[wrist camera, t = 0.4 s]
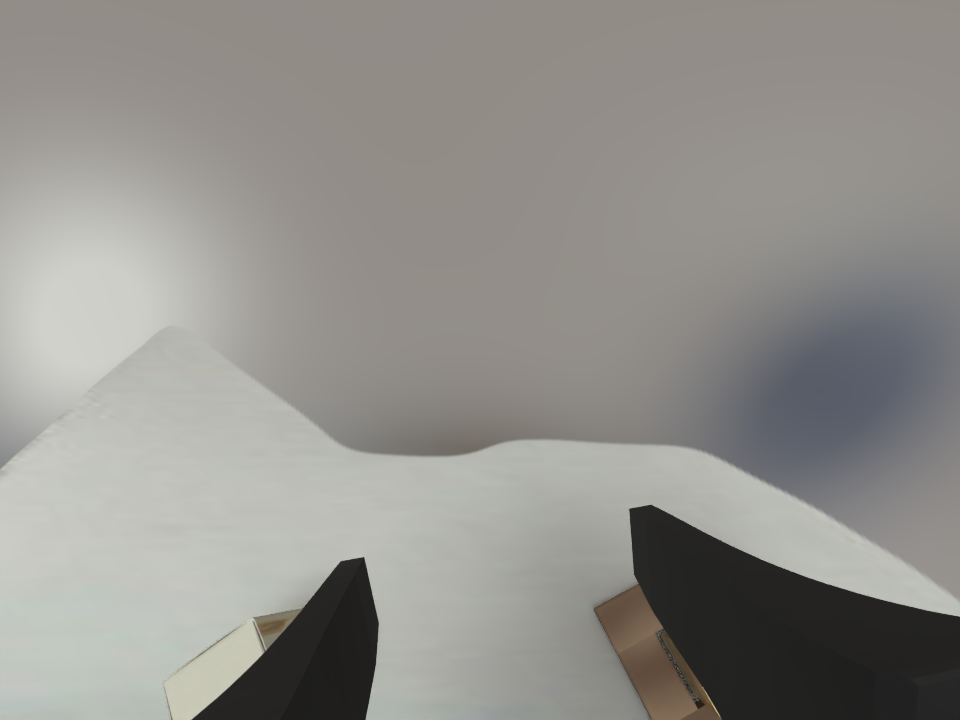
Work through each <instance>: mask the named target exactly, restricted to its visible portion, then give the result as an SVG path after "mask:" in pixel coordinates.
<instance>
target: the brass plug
mask: <svg viewBox="0 0 960 720" xmlns="http://www.w3.org/2000/svg"><path fill="white" fill-rule="evenodd" d="M660 636H661V638H662V640H663V641H664V643H665V645H666V647H667V648H668V650H669V652H670V654H671V655H672V657H673V659H674V661H675V662H676V664H677V666H678V668H679V669H680V671H681V673H682V675H683V676H684V678H685V680H686V682H687V683H688V685H689V687H690V689H691V690H692V692H693V694H694V695H695V696H696V697H697V698H698V699H699V700H700V701H702V702H703V703H704V704H705V705H706V706H707V707H708V708H709V709H711V710H712V711H713V712H714V713H715V714H716V715H717V716H718V717H720V715H719V713H718V712H717V710H716V708H715V707H714V705H713V703H712V702H711V700H710V698H709V697H708V695H707V693H706V692H705V690H704V689H703V687H702V686H701V684H700V683H699V681H698V680H697V678H696V677H695V675H694V674H693V672H692V671H691V669H690V668H689V666H688V665H687V663H686V661H685V660H684V658H683V657H682V655H681V654H680V652H679V651H678V649H677V648H676V646H675V645H674V643H673V642H672V640H671V639H670V637H669V636H668V634H667V633H666V631H664V632H662V633H660ZM720 718H721V717H720Z"/></svg>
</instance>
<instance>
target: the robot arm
mask: <svg viewBox="0 0 960 720" xmlns="http://www.w3.org/2000/svg"><path fill="white" fill-rule="evenodd" d="M629 511H630V524H631V538H632V551H633V565H634V575H635V577H636V579H637V581H638V583H639V585H640V587H641V589H642V591H643V594H644V596H645V597H646V599H647V601H648V603H649V605H650V607H651V609H652V611H653V612H654V614H655V616H656V617H657V619H658V620H659V622H660V623H661V625H662V626H663V628H664V630H665V631H666V633H667V634H668V636H669V637H670V639H671V640H672V642H673V643H674V645H675V646H676V648H677V649H678V651H679V652H680V654H681V655H682V657H683V658H684V660H685V661H686V663H687V665H688V666H689V668H690V669H691V671H692V672H693V674H694V675H695V677H696V678H697V680H698V681H699V683H700V684H701V686H702V687H703V689H704V690H705V692H706V693H707V695H708V697H709V698H710V700H711V702H712V703H713V705H714V707H715V708H716V710H717V712H718V713H719V715H720V717H721V719H722V720H960V617H958V616H953V615H947V614H942V613H936V612H931V611H926V610H922V609H918V608H913V607H909V606H905V605H901V604H896V603H892V602H888V601H884V600H880V599H876V598H873V597H869V596H865V595H861V594H858V593H855V592H851V591H848V590H845V589H841V588H838V587H835V586H832V585H828V584H825V583H822V582H819V581H816V580H813V579H810V578H807V577H805V576H802V575H799V574H797V573H794V572H791V571H789V570H786V569H783V568H781V567H778V566H775V565H773V564H771V563H768V562H766V561H763V560H761V559H759V558H757V557H754V556H752V555H750V554H748V553H745V552H743V551H741V550H739V549H737V548H734V547H732V546H730V545H728V544H726V543H724V542H722V541H720V540H718V539H716V538H714V537H712V536H710V535H708V534H706V533H704V532H702V531H701V530H699V529H697V528H695V527H693V526H691V525H689V524H687V523H685V522H684V521H682V520H680V519H678V518H676V517H674V516H672V515H670V514H669V513H667V512H665V511H663V510H661V509H659V508H657V507H655V506H652V505H648V506H642V507H637V508H631V509H629ZM378 626H379V622H378V618H377V613H376V609H375V604H374V600H373V595H372V591H371V586H370V582H369V577H368V573H367V568H366V563H365V559H364V557H362V558H357V559H351V560H346V561H341V562H340V563H339V564H338V565H337V567H336V568H335V569H334V570H333V572H332V573H331V574H330V575H329V577H328V578H327V579H326V580H325V582H324V583H323V584H322V585H321V587H320V588H319V589H318V591H317V592H316V593H315V594H314V596H313V597H312V598H311V599H310V601H309V602H308V603H307V604H306V605H305V607H304V608H303V609H302V610H301V612H300V613H299V614H298V615H297V616H296V618H295V619H294V620H293V621H292V622H291V623H290V624H289V625H288V627H287V628H286V629H285V630H284V631H283V632H282V633H281V634H280V636H279V637H278V638H277V639H276V640H275V641H274V642H273V643H272V644H271V646H270V647H269V648H268V649H267V650H266V651H265V652H264V653H263V654H262V655H261V656H260V657H259V658H258V659H257V660H256V661H255V662H254V663H253V664H252V665H251V667H250V668H249V669H247V670H246V671H245V672H244V673H243V674H242V675H241V676H240V677H239V678H238V679H237V680H236V681H235V682H234V683H233V684H232V685H231V686H230V687H229V688H228V689H226V690H225V691H224V692H223V693H222V694H221V695H220V696H219V697H217V698H216V699H215V700H214V701H213V702H212V703H210V704H209V705H208V706H207V707H206V708H204V709H203V710H202V711H201V712H200V713H199V714H197V715H196V716H195V717H194V718H193V719H192V720H365V719H366V714H367V709H368V704H369V699H370V693H371V688H372V682H373V677H374V671H375V666H376V655H377V642H378Z"/></svg>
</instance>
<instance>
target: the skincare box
mask: <svg viewBox="0 0 960 720" xmlns="http://www.w3.org/2000/svg"><path fill="white" fill-rule="evenodd" d="M302 609H303V608H302ZM302 609H297V610H292V611H286V612H281V613H276V614H271V615H266V616H260V617H253V618H250V619H249V620H247V621H245V622H244V623H242V624H241V625H239V626H237V627H236V628H234V629H233V630H231V631H230V632H228V633H227V634H225V635H224V636H223V637H221V638H220V639H218V640H217V641H216V642H214V643H213V644H211V645H210V646H209V647H207V648H206V649H204V650H203V651H202V652H200V653H199V654H198V655H196V656H195V657H194V658H192V659H191V660H190V661H188V662H187V663H185V664H184V665H183V666H182V667H180V668H179V669H178V670H176V671H175V672H174V673H173V674H171V675H170V676H169V677H167V678H166V679H165V680H164V681H163V683H162V684H163V689H164V693H165V698H166V704H167V708H168V713H169V718H170V720H192V719H193V718H194V717H195V716H196V715H197V714H199V713H200V712H201V711H202V710H203V709H204V708H206V707H207V706H208V705H209V704H210V703H212V702H213V701H214V700H215V699H216V698H217V697H219V696H220V695H221V694H222V693H223V692H224V691H225V690H226V689H228V688H229V687H230V686H231V685H232V684H233V683H234V682H235V681H236V680H237V679H238V678H239V677H240V676H241V675H242V674H243V673H244V672H245V671H246V670H247V669H249V668H250V667H251V665H252V664H253V663H254V662H255V661H256V660H257V659H258V658H259V657H260V656H261V655H262V654H263V653H264V652H265V651H266V650H267V649H268V648H269V647H270V646H271V644H272V643H273V642H274V641H275V640H276V639H277V638H278V637H279V636H280V634H281V633H282V632H283V631H284V630H285V629H286V628H287V627H288V625H289V624H290V623H291V622H292V621H293V620H294V619H295V618H296V616H297V615H298V614H299V613H300V612H301V610H302Z"/></svg>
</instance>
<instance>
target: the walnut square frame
mask: <svg viewBox="0 0 960 720" xmlns="http://www.w3.org/2000/svg"><path fill="white" fill-rule="evenodd" d="M720 541H721V540H720ZM594 610H595V612H596V614H597V616H598V618H599V620H600V622H601V624H602V626H603V628H604V629H605V631H606V633H607V635H608V637H609V639H610V641H611V643H612V645H613V647H614V649H615V650H616V652H617V654H618V656H619V658H620V660H621V662H622V664H623V666H624V668H625V670H626V671H627V673H628V675H629V677H630V679H631V681H632V683H633V685H634V687H635V689H636V691H637V692H638V694H639V696H640V698H641V700H642V702H643V704H644V706H645V708H646V710H647V712H648V713H649V715H650V717H651V719H652V720H722V719H721V718H720V717H718V716H717V715H716V714H715V713H714V712H713V711H712V710H711V709H709V708H708V707H707V706H706V705H705V704H704V703H703V702H702V701H698V702H696V703H694V701H693V699H692V698H691V696H690V694H689V692H688V691H687V689H686V687H685V685H684V684H683V682H682V680H681V678H680V677H679V675H678V673H677V671H676V670H675V668H674V666H673V664H672V663H671V661H670V659H669V657H668V655H667V654H666V652H665V650H664V648H663V647H662V645H661V643H660V641H659V640H658V638H657V636H656V634H655V633H656V632H658V631H659V630H661V629H663V626H662V625H661V623H660V622H659V620H658V619H657V617H656V616H655V614H654V612H653V611H652V609H651V607H650V605H649V603H648V601H647V599H646V597H645V596H644V594H643V591H642V589H641V587H640V585H639V584H637V585H636V586H634V587H632V588H630V589H628V590H627V591H625V592H623V593H621V594H619V595H618V596H616V597H614V598H612V599H610V600H609V601H607V602H605V603H603V604H601V605H600V606H598V607H596V608H594Z"/></svg>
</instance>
